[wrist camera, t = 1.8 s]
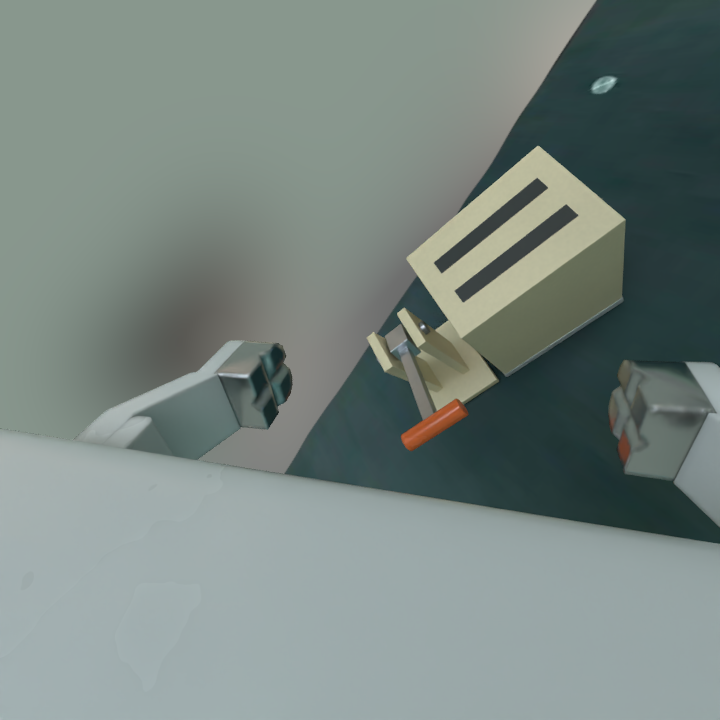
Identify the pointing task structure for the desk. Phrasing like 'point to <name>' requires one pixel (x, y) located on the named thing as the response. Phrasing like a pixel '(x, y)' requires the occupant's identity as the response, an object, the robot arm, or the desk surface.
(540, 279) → the toaster
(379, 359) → the lever bracket
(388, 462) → the desk surface
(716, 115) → the desk surface
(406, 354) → the lever
